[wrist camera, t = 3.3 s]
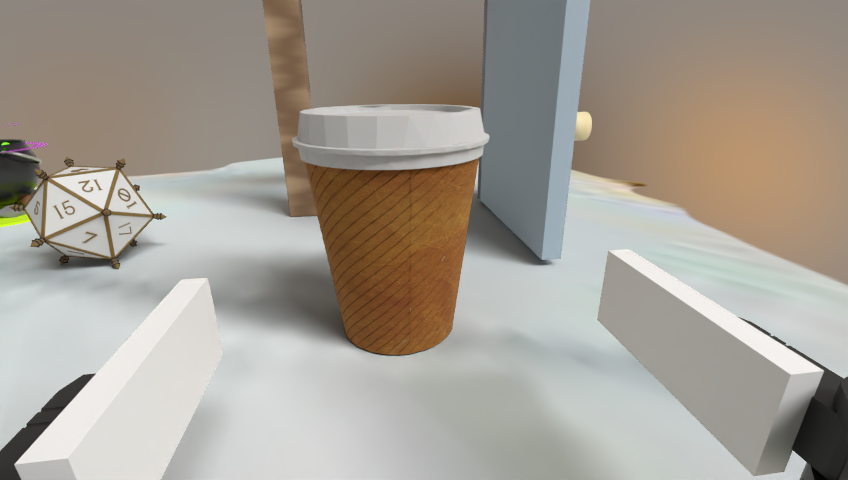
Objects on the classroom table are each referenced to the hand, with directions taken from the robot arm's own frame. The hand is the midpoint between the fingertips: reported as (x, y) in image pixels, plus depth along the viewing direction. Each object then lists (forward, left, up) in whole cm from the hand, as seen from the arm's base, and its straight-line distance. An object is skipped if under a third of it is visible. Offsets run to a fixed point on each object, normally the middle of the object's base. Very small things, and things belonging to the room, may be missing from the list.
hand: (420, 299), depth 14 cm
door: (-8, +26, -6) cm, 28 cm away
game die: (-32, 0, -7) cm, 33 cm away
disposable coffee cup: (-6, +6, -7) cm, 11 cm away
